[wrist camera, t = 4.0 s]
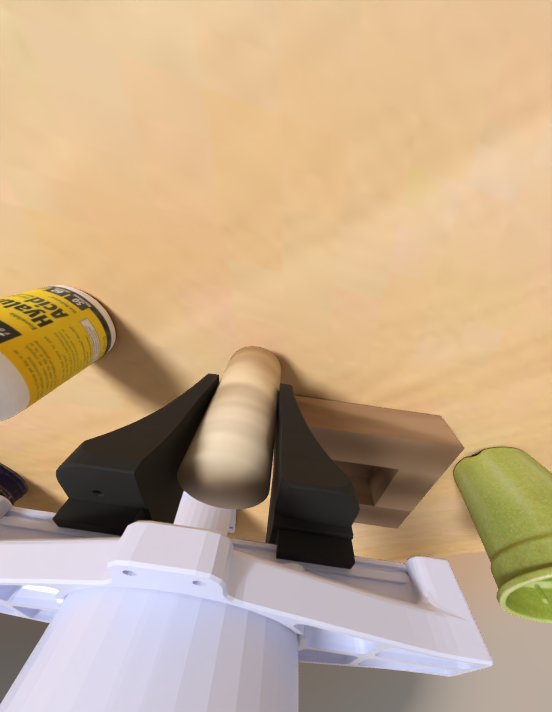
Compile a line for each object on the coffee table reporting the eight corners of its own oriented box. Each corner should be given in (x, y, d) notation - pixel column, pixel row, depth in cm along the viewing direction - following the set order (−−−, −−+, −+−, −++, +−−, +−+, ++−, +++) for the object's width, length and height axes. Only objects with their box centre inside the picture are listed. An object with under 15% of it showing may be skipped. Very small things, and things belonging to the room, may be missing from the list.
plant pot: (423, 495, 24) (480, 619, 17) (445, 433, 19) (538, 566, 12) (524, 496, 23) (635, 630, 15) (574, 430, 18) (768, 577, 11)
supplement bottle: (110, 290, 15) (-123, 379, 7) (124, 359, 18) (-27, 482, 10) (28, 275, 15) (-312, 346, 7) (55, 346, 18) (-160, 460, 9)
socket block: (386, 496, 25) (396, 528, 22) (275, 480, 25) (272, 510, 22) (441, 416, 18) (464, 448, 16) (292, 394, 18) (291, 423, 16)
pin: (277, 393, 17) (264, 514, 10) (228, 386, 17) (181, 502, 10) (284, 350, 15) (274, 462, 8) (229, 342, 15) (171, 447, 8)
